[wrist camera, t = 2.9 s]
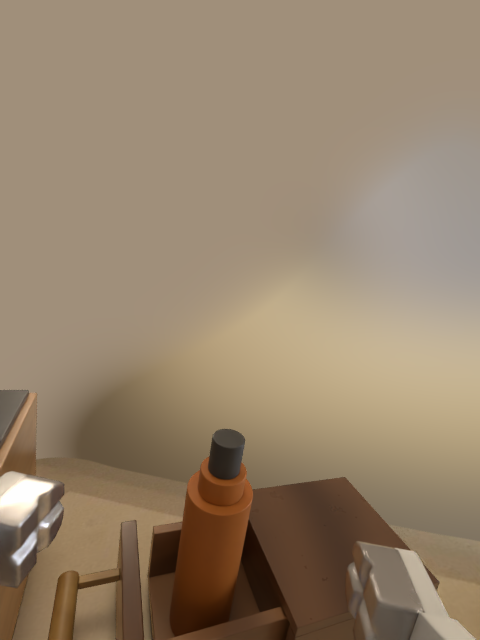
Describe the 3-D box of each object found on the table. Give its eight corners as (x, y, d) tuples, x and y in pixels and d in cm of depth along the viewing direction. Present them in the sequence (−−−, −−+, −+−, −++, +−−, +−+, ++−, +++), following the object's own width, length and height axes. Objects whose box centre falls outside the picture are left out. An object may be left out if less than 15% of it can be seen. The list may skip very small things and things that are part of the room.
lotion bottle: (174, 659, 22) (203, 463, 19) (165, 591, 27) (188, 420, 23) (237, 639, 24) (274, 456, 21) (219, 578, 28) (248, 417, 25)
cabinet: (275, 713, 22) (297, 628, 20) (224, 556, 33) (236, 491, 31) (413, 655, 27) (440, 581, 25) (329, 534, 37) (344, 476, 36)
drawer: (30, 788, 17) (31, 711, 16) (60, 589, 27) (63, 530, 25) (290, 685, 23) (307, 622, 22) (240, 551, 32) (249, 502, 31)
